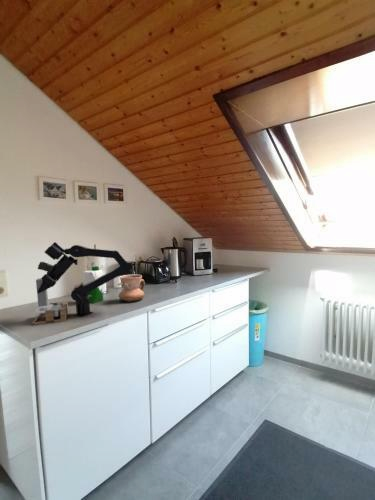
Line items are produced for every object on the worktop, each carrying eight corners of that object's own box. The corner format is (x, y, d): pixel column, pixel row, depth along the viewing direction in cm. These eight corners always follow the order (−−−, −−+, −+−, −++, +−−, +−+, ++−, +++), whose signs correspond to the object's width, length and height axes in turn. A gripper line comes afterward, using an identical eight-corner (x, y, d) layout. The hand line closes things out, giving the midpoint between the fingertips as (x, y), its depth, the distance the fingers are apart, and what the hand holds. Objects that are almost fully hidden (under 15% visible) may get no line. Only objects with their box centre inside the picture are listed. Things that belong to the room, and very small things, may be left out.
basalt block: (48, 303, 138) (45, 277, 137) (46, 305, 134) (44, 279, 133) (40, 304, 137) (37, 278, 136) (38, 306, 133) (35, 280, 132)
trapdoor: (58, 316, 132) (58, 309, 132) (35, 317, 129) (35, 311, 129) (61, 309, 144) (61, 303, 143) (40, 311, 141) (40, 304, 140)
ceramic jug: (126, 305, 155) (125, 279, 154) (112, 300, 165) (111, 276, 164) (152, 299, 168) (152, 275, 167) (138, 295, 178) (137, 272, 177)
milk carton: (105, 300, 168) (103, 266, 167) (93, 304, 160) (90, 268, 159) (95, 298, 173) (93, 266, 171) (83, 302, 165) (80, 268, 164)
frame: (65, 320, 131) (64, 309, 131) (32, 325, 127) (31, 312, 127) (68, 311, 146) (67, 301, 146) (39, 315, 142) (38, 304, 142)
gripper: (51, 253, 144) (28, 277, 141) (44, 257, 126) (18, 284, 124) (69, 268, 147) (47, 291, 144) (65, 272, 129) (40, 300, 126)
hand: (38, 291), depth 135 cm, fingers closed on basalt block, 4 cm apart
